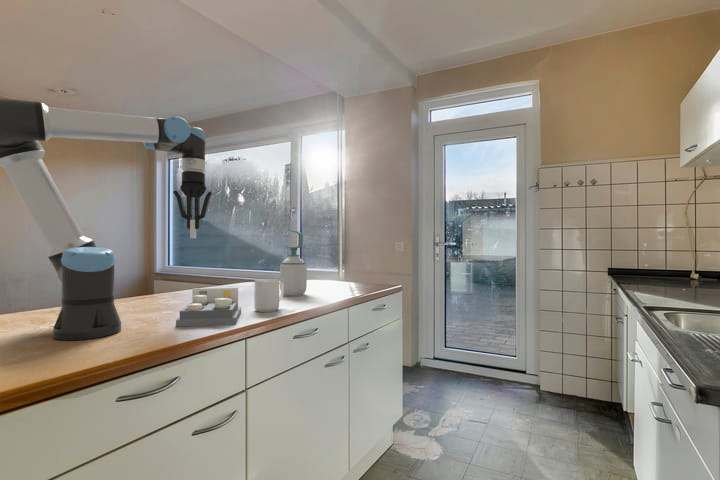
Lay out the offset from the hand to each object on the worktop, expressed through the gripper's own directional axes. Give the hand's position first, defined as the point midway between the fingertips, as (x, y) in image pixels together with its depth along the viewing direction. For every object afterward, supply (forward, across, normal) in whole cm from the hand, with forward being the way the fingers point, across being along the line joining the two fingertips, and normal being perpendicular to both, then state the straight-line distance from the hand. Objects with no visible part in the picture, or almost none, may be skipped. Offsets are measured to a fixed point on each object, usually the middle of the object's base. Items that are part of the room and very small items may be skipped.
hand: (193, 238), depth 133 cm
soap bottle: (+27, +37, +36) cm, 58 cm away
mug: (+27, +27, 0) cm, 38 cm away
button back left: (+22, +4, -11) cm, 25 cm away
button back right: (+24, +12, -11) cm, 29 cm away
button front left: (+24, +4, -19) cm, 31 cm away
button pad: (+26, +8, -13) cm, 31 cm away
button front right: (+22, +12, -19) cm, 32 cm away
